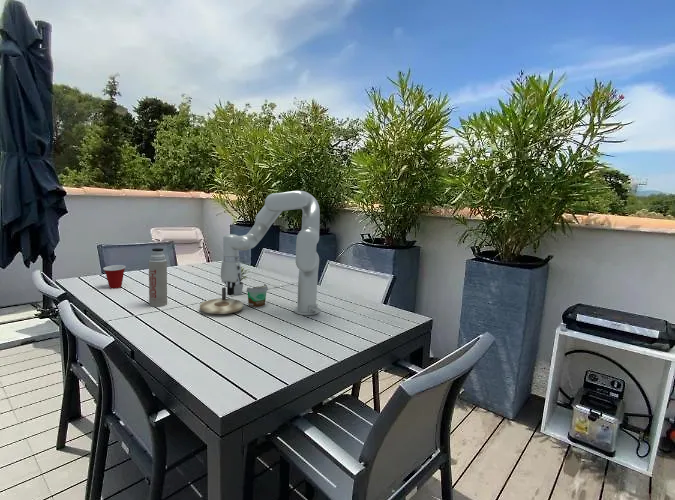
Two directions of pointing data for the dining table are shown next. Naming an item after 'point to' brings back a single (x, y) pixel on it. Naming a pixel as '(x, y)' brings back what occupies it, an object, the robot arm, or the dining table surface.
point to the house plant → (239, 287)
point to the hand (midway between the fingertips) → (230, 294)
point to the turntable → (221, 305)
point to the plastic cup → (114, 275)
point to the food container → (257, 296)
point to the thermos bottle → (157, 278)
